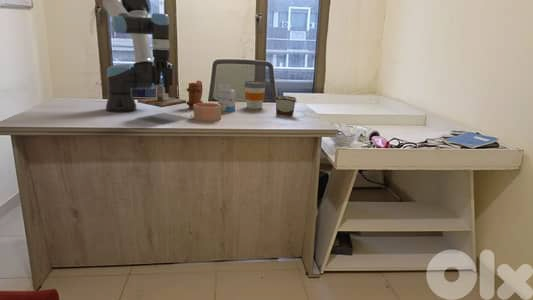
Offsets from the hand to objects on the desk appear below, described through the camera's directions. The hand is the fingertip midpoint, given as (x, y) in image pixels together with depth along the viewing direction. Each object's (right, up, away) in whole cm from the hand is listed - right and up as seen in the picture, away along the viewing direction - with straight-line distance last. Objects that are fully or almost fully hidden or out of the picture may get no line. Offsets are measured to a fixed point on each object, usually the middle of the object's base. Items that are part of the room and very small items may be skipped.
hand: (162, 99), depth 184 cm
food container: (+61, -5, +27) cm, 67 cm away
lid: (0, -2, 0) cm, 2 cm away
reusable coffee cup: (+43, +1, +44) cm, 61 cm away
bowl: (+21, -9, +7) cm, 24 cm away
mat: (0, -9, +2) cm, 10 cm away
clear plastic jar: (+28, -2, +31) cm, 42 cm away
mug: (+10, -1, +35) cm, 36 cm away
